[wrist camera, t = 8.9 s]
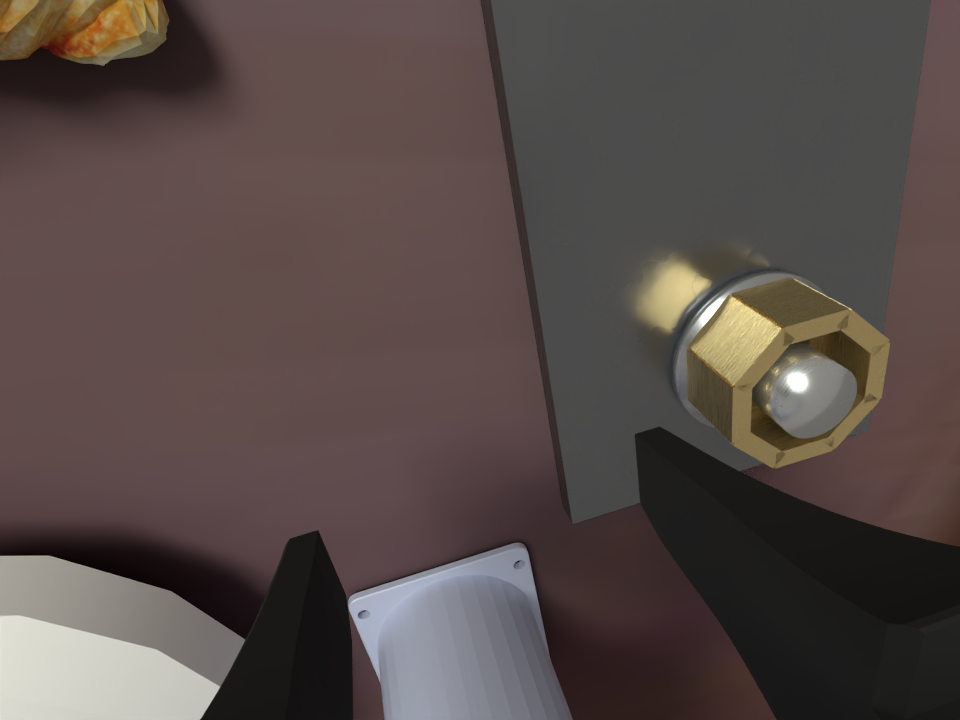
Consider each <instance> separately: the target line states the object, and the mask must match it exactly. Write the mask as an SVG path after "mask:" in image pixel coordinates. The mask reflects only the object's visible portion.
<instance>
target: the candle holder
mask: <svg viewBox="0 0 960 720" xmlns="http://www.w3.org/2000/svg"><path fill="white" fill-rule="evenodd" d="M244 642H245V639H244V638H242V637H241V636H239V635H238V634H236V633H234V632H233V631H231V630H230V629H228V628H227V627H225V626H224V625H222V624H221V623H219V622H218V621H216V620H215V619H213V618H212V617H210V616H208V615H207V614H205V613H204V612H202V611H201V610H199V609H198V608H196V607H195V606H193V605H192V604H190V603H189V602H187V601H186V600H184V599H183V598H181V597H179V596H178V595H176V594H175V593H173V592H172V591H169V590H165V589H162V588H159V587H155V586H152V585H148V584H145V583H141V582H138V581H135V580H131V579H128V578H124V577H121V576H117V575H114V574H111V573H107V572H104V571H100V570H97V569H93V568H90V567H87V566H83V565H80V564H76V563H73V562H69V561H66V560H63V559H59V558H56V557H52V556H0V720H200V719H201V718H202V716H203V714H204V713H205V711H206V710H207V708H208V706H209V705H210V703H211V701H212V700H213V698H214V697H215V695H216V693H217V692H218V690H219V688H220V686H221V685H222V683H223V681H224V679H225V678H226V676H227V674H228V672H229V671H230V669H231V667H232V665H233V663H234V661H235V659H236V657H237V655H238V653H239V651H240V649H241V647H242V645H243V644H244Z"/></svg>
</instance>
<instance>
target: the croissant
mask: <svg viewBox="0 0 960 720" xmlns="http://www.w3.org/2000/svg"><path fill="white" fill-rule="evenodd" d="M169 21H170V20H169V17H168V15H167V12H166V9H165V6H164V4H163V1H162V0H0V60H17V59H25V58H28V57H29V56H30V55H31V54H32V53H33V52H34V51H36V50H37V49H38V48H40V47H41V48H44V49H47V50H49V51H50V52H51V53H53V54H54V55H55V56H58V57H61V58H64V59H68V60H71V61H75V62H78V63H82V64H97V65H102V66H104V65H105V64H106V63H108V62H109V61H110V60H114V59H121V58H133V57H137V56H142V55H145V54H148V53H151V52H153V51H154V50H155V49H156V48H157V47H159V46H160V45H161V44H162V43H163V42H164V41H166V32H167V25H168V23H169Z"/></svg>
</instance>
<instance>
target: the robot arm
mask: <svg viewBox="0 0 960 720" xmlns="http://www.w3.org/2000/svg"><path fill="white" fill-rule="evenodd" d="M635 446H636V458H637V470H638V482H639V495H640V503H641V505H642V507H643V509H644V510H645V512H646V514H647V516H648V518H649V520H650V522H651V524H652V525H653V527H654V529H655V531H656V533H657V534H658V536H659V538H660V540H661V541H662V543H663V544H664V546H665V547H666V548H667V550H668V551H669V553H670V554H671V555H672V557H673V558H674V560H675V561H676V562H677V564H678V565H679V567H680V568H681V569H682V571H683V572H684V574H685V575H686V576H687V578H688V579H689V580H690V582H691V583H692V585H693V586H694V587H695V589H696V590H697V592H698V593H699V594H700V596H701V597H702V598H703V600H704V601H705V603H706V604H707V605H708V607H709V608H710V609H711V611H712V612H713V614H714V615H715V616H716V618H717V619H718V621H719V622H720V624H721V625H722V627H723V628H724V630H725V631H726V633H727V634H728V636H729V637H730V639H731V640H732V642H733V644H734V645H735V647H736V649H737V651H738V652H739V654H740V656H741V657H742V659H743V661H744V663H745V664H746V666H747V668H748V669H749V671H750V673H751V675H752V676H753V678H754V680H755V681H756V683H757V685H758V687H759V689H760V690H761V692H762V694H763V696H764V698H765V699H766V701H767V703H768V705H769V707H770V708H771V710H772V712H773V714H774V715H775V717H776V719H777V720H960V547H958V546H952V545H947V544H943V543H939V542H934V541H930V540H926V539H922V538H918V537H914V536H909V535H905V534H902V533H898V532H894V531H891V530H887V529H883V528H880V527H877V526H874V525H870V524H867V523H864V522H861V521H858V520H854V519H851V518H848V517H845V516H842V515H839V514H837V513H834V512H831V511H828V510H826V509H823V508H820V507H818V506H815V505H813V504H810V503H808V502H805V501H802V500H800V499H797V498H795V497H793V496H790V495H788V494H786V493H783V492H781V491H779V490H777V489H775V488H773V487H771V486H768V485H766V484H764V483H762V482H760V481H758V480H756V479H754V478H752V477H750V476H748V475H746V474H744V473H742V472H740V471H738V470H736V469H734V468H732V467H730V466H729V465H727V464H725V463H723V462H721V461H719V460H718V459H716V458H714V457H712V456H710V455H709V454H707V453H705V452H703V451H702V450H700V449H698V448H696V447H695V446H693V445H691V444H689V443H688V442H686V441H684V440H683V439H681V438H679V437H677V436H676V435H674V434H672V433H671V432H669V431H667V430H665V429H664V428H662V427H656V428H653V429H650V430H646V431H643V432H640V433H636V434H635ZM519 560H521V561H520V562H518V563H515V562H517V561H519ZM348 605H349V611H350V613H351V616H352V618H353V620H354V623H355V625H356V627H357V630H358V632H359V634H360V636H361V639H362V641H363V643H364V646H365V648H366V650H367V653H368V655H369V657H370V660H371V662H372V664H373V667H374V669H375V671H376V674H377V676H378V678H379V680H380V683H381V689H382V699H383V709H384V718H385V720H573V718H572V716H571V713H570V710H569V708H568V705H567V702H566V700H565V697H564V694H563V692H562V689H561V686H560V684H559V681H558V678H557V676H556V673H555V670H554V668H553V665H552V663H551V660H550V655H549V650H548V646H547V641H546V636H545V631H544V626H543V622H542V617H541V612H540V607H539V602H538V598H537V593H536V588H535V583H534V578H533V574H532V569H531V564H530V559H529V555H528V551H527V549H526V547H525V545H524V544H522V543H513V544H509V545H506V546H503V547H500V548H497V549H494V550H490V551H487V552H484V553H481V554H478V555H475V556H471V557H468V558H465V559H462V560H459V561H456V562H453V563H449V564H446V565H443V566H440V567H437V568H434V569H430V570H427V571H424V572H421V573H418V574H415V575H411V576H408V577H405V578H402V579H399V580H396V581H393V582H389V583H386V584H383V585H380V586H377V587H374V588H370V589H367V590H364V591H361V592H358V593H355V594H353V595H352V596H351V597H350V598H349V600H348ZM363 610H367V611H365V612H361V611H363ZM200 720H353V687H352V638H351V629H350V621H349V614H348V606H347V599H346V594H345V592H344V589H343V587H342V585H341V582H340V580H339V578H338V575H337V573H336V571H335V568H334V566H333V564H332V561H331V559H330V557H329V554H328V552H327V550H326V547H325V545H324V543H323V540H322V538H321V536H320V533H319V531H318V530H317V531H314V532H311V533H307V534H304V535H301V536H297V537H294V538H291V539H289V541H288V542H287V544H286V546H285V549H284V552H283V554H282V557H281V560H280V562H279V565H278V567H277V570H276V573H275V575H274V578H273V580H272V582H271V585H270V587H269V590H268V592H267V594H266V597H265V599H264V601H263V603H262V606H261V608H260V610H259V612H258V614H257V617H256V619H255V621H254V623H253V625H252V628H251V630H250V632H249V634H248V636H247V638H246V640H245V642H244V644H243V645H242V647H241V649H240V651H239V653H238V655H237V657H236V659H235V661H234V663H233V665H232V667H231V669H230V671H229V672H228V674H227V676H226V678H225V679H224V681H223V683H222V685H221V686H220V688H219V690H218V692H217V693H216V695H215V697H214V698H213V700H212V701H211V703H210V705H209V706H208V708H207V710H206V711H205V713H204V714H203V716H202V718H201V719H200Z"/></svg>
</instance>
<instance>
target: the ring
mask: <svg viewBox="0 0 960 720" xmlns="http://www.w3.org/2000/svg"><path fill="white" fill-rule="evenodd" d="M808 339H809V345H811V346H812V347H814V348H815V349H817V350H818V351H820V352H821V353H823V354H825V355H826V356H828V357H829V358H831V359H832V360H834V361H835V362H837V363H838V364H840V365H842V366H843V367H845V368H846V369H848V370H849V371H850V372H852V374H853V375H854V377H855V379H856V382H857V393H856V398H855V401H854V403H853V405H852V407H851V409H850V411H849V412H848V413H847V415H846V416H845V417H844V418H843V419H842V420H841V421H840V422H839V423H838V424H837V425H836V426H835V427H833V428H832V429H831V430H829V431H827V432H826V433H823V434H821V435H819V436H816V437H812V438H797V437H794V436H792V435H790V434H789V433H788V432H786V431H785V430H784V429H783V428H782V427H781V426H779V425H778V424H777V423H776V422H775V421H774V420H772V419H771V418H770V417H769V416H768V415H767V414H765V413H764V412H763V411H762V410H761V409H760V408H758V407H757V406H756V405H755V404H754V403H752V388H753V387H754V386H755V385H756V384H757V383H758V381H759V380H760V379H761V378H762V377H763V376H764V374H765V373H766V372H767V371H768V370H769V369H770V367H771V366H772V365H773V364H774V363H775V362H776V360H777V359H778V358H779V357H780V356H781V355H782V353H783V352H784V351H785V350H786V349H787V348H788V346H789V345H790V344H794V343H797V342H801V341H804V340H808ZM688 347H689V348H687V393H688V401H689V402H690V403H691V404H692V405H693V406H694V407H695V408H696V409H697V410H698V411H699V412H700V413H701V414H702V415H703V416H704V417H705V418H706V419H707V420H708V421H709V422H710V423H711V424H712V425H713V426H714V427H715V428H716V429H717V430H718V431H719V432H720V433H721V434H722V435H723V436H724V437H725V438H726V439H727V440H728V441H729V442H730V443H731V444H732V445H733V446H735V447H736V448H738V449H740V450H742V451H743V452H745V453H747V454H749V455H750V456H752V457H754V458H756V459H757V460H759V461H761V462H763V463H764V464H766V465H768V466H770V467H772V468H775V469H776V468H779V467H782V466H785V465H788V464H792V463H795V462H798V461H801V460H805V459H808V458H811V457H814V456H817V455H821V454H824V453H827V452H830V451H832V450H833V449H835V448H836V447H837V446H838V445H839V444H840V443H841V442H842V441H843V440H844V439H845V438H846V437H847V435H848V434H849V433H850V432H851V431H852V430H853V429H854V428H855V427H856V426H857V425H858V424H859V423H860V422H861V420H862V419H863V418H864V417H865V416H866V415H867V414H868V413H869V412H870V411H871V410H872V409H873V408H874V407H875V405H876V404H877V403H878V402H879V401H880V400H878V399H881V397H882V391H883V385H884V379H885V372H886V366H887V360H888V354H889V347H890V342H889V339H888V338H886V337H885V336H884V335H883V334H881V333H880V332H879V331H878V330H877V329H875V328H874V327H873V326H872V325H870V324H869V323H868V322H867V321H865V320H864V319H863V318H862V317H861V316H859V315H858V314H857V313H856V312H854V311H853V310H852V309H850V308H848V307H846V306H845V305H843V304H841V303H839V302H837V301H835V300H833V299H831V298H829V297H827V296H826V295H824V294H822V293H820V292H818V291H816V290H814V289H812V288H810V287H808V286H807V285H805V284H803V283H801V282H799V281H797V280H795V279H793V278H790V277H788V278H784V279H780V280H777V281H773V282H770V283H766V284H762V285H759V286H755V287H751V288H748V289H744V290H740V291H737V292H733V293H731V296H730V295H728V296H727V298H726V299H725V300H724V301H723V303H722V304H721V305H720V306H719V308H718V309H717V310H716V311H715V312H714V314H713V315H712V316H711V317H710V319H709V320H708V321H707V322H706V324H705V325H704V326H703V327H702V329H701V330H700V331H699V332H698V334H697V335H696V336H695V337H694V339H693V340H692V341H691V342H690V344H689V345H688Z"/></svg>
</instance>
